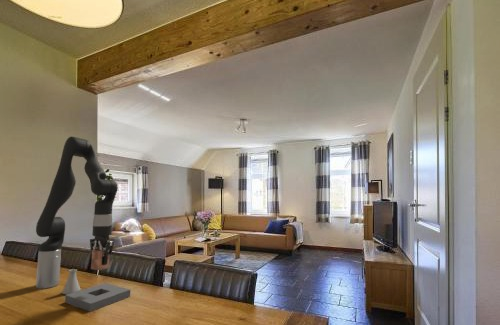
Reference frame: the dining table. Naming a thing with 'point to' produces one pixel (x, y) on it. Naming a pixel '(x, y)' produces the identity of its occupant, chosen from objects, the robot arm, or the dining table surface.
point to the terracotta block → (98, 260)
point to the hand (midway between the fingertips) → (100, 263)
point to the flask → (71, 283)
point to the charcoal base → (97, 296)
